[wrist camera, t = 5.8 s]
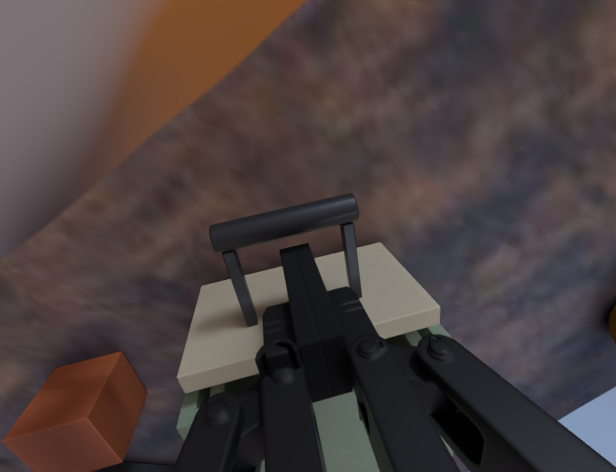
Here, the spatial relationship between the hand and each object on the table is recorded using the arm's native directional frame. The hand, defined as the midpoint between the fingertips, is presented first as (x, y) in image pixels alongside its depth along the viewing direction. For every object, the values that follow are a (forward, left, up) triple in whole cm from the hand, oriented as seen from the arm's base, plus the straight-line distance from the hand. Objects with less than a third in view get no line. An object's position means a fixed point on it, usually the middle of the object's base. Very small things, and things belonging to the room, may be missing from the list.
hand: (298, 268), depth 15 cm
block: (-17, -10, -6) cm, 21 cm away
